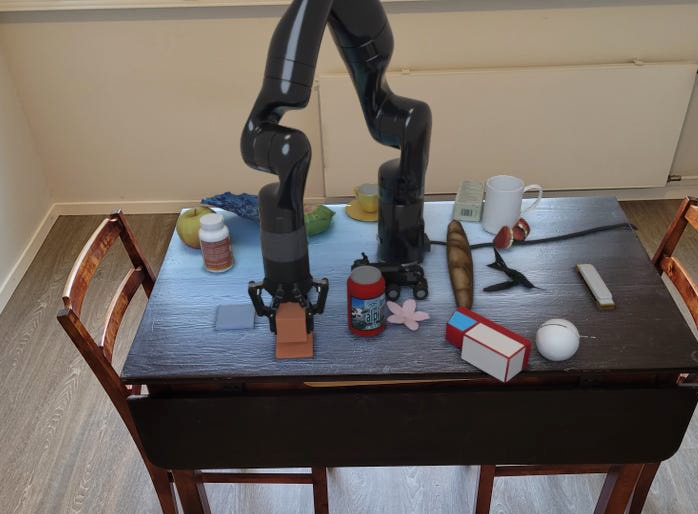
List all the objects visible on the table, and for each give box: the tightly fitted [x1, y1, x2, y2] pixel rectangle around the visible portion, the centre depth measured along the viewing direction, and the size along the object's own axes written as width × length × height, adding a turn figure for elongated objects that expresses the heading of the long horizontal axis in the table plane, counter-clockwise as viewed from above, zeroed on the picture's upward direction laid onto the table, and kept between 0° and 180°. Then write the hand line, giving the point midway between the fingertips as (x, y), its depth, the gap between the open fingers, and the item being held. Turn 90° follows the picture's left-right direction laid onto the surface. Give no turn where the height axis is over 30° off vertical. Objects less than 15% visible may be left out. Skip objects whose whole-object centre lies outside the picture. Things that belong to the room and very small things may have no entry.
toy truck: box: [444, 306, 533, 383], centre depth 120 cm, size 6×15×7 cm
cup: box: [344, 182, 378, 222], centre depth 162 cm, size 12×12×5 cm
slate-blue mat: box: [215, 303, 256, 331], centre depth 132 cm, size 7×7×1 cm
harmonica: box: [574, 263, 617, 311], centre depth 136 cm, size 15×3×2 cm, turn 4°
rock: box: [200, 191, 260, 221], centre depth 155 cm, size 15×17×2 cm
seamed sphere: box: [534, 318, 597, 362], centre depth 118 cm, size 10×7×7 cm
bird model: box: [482, 246, 546, 292], centre depth 139 cm, size 5×12×10 cm
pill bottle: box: [198, 212, 235, 274], centre depth 143 cm, size 6×6×11 cm
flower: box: [385, 298, 431, 331], centre depth 130 cm, size 10×10×2 cm
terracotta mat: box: [275, 331, 314, 360], centre depth 125 cm, size 6×6×1 cm
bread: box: [445, 219, 475, 311], centre depth 142 cm, size 38×5×5 cm, turn 177°
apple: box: [175, 205, 218, 249], centre depth 151 cm, size 10×10×8 cm
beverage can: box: [346, 266, 386, 338], centre depth 125 cm, size 7×7×12 cm
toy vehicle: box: [350, 251, 429, 301], centre depth 136 cm, size 8×15×9 cm, turn 93°
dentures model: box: [491, 216, 531, 250], centre depth 149 cm, size 6×4×8 cm
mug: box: [481, 174, 543, 235], centre depth 153 cm, size 12×8×10 cm, turn 91°
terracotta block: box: [276, 302, 307, 343], centre depth 122 cm, size 5×5×5 cm
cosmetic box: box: [452, 179, 487, 223], centre depth 162 cm, size 6×4×12 cm
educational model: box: [304, 202, 337, 237], centre depth 156 cm, size 13×16×5 cm
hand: (292, 331), depth 123 cm, fingers closed on terracotta block, 5 cm apart
